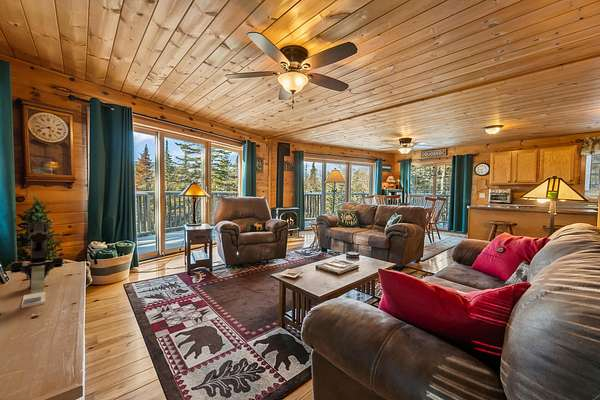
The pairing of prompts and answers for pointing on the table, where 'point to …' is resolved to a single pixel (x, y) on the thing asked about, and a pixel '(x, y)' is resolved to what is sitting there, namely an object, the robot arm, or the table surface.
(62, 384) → the table surface
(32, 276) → the post
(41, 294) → the baseplate
